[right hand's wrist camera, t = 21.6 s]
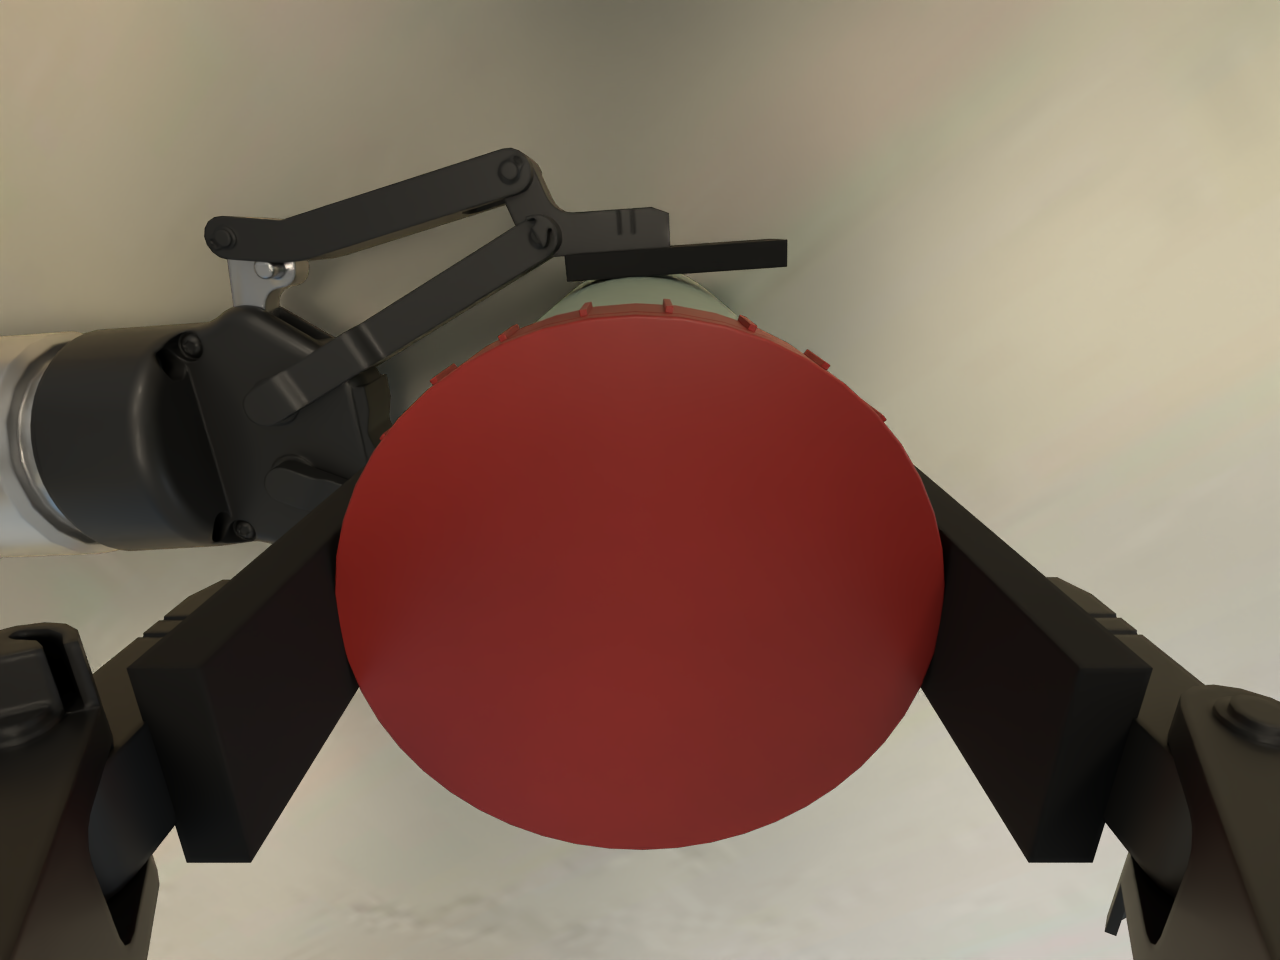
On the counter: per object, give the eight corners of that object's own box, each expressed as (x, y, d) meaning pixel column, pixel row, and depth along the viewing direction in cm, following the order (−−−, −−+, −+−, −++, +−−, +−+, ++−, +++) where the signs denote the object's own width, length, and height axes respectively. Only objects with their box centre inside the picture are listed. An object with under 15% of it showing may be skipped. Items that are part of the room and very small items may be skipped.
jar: (667, 506, 30) (704, 872, 13) (498, 403, 29) (283, 663, 11) (785, 343, 28) (1025, 528, 11) (607, 220, 26) (545, 196, 9)
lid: (253, 534, 11) (195, 578, 10) (694, 158, 9) (704, 144, 8) (601, 855, 14) (597, 929, 13) (1008, 612, 12) (1059, 665, 11)
